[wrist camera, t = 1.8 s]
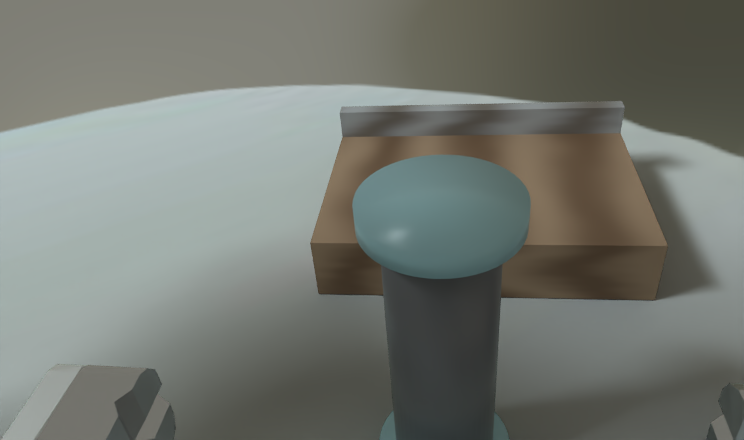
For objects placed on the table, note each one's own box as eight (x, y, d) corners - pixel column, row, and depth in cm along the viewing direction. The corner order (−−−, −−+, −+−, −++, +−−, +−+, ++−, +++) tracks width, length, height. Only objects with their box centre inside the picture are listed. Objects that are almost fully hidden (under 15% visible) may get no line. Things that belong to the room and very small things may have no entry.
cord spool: (374, 511, 28) (340, 252, 20) (386, 400, 33) (363, 155, 25) (513, 520, 27) (539, 255, 19) (505, 405, 32) (523, 153, 24)
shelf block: (318, 293, 40) (305, 215, 37) (349, 175, 51) (341, 106, 48) (654, 300, 38) (675, 216, 34) (609, 173, 49) (621, 101, 45)
